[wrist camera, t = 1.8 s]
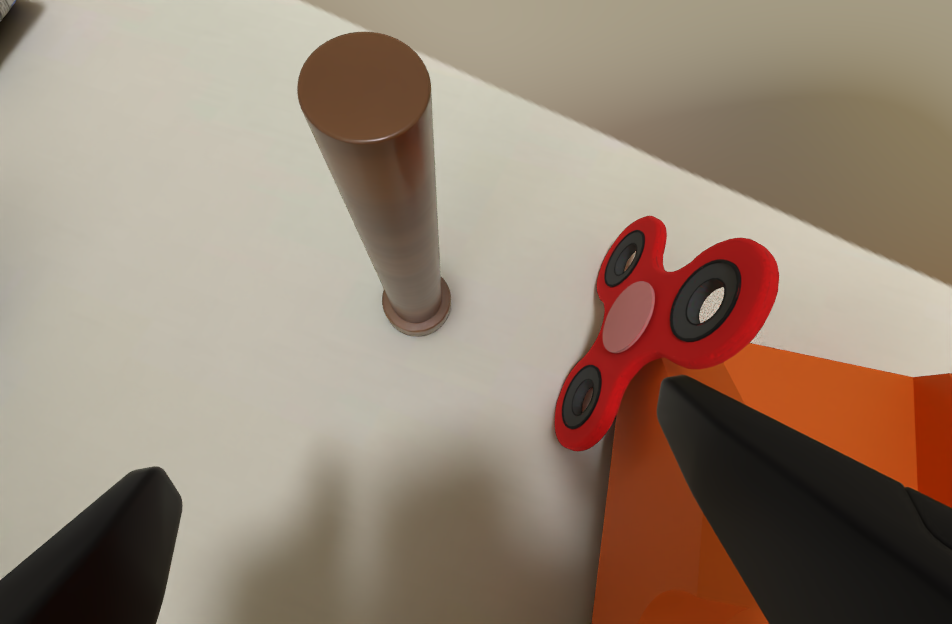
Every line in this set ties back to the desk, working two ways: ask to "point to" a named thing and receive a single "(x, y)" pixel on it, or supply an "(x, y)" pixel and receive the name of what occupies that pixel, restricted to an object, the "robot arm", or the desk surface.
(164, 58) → the desk surface
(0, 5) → the pill bottle
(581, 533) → the desk surface
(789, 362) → the tape dispenser
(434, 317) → the brown rod with base
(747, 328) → the toy
